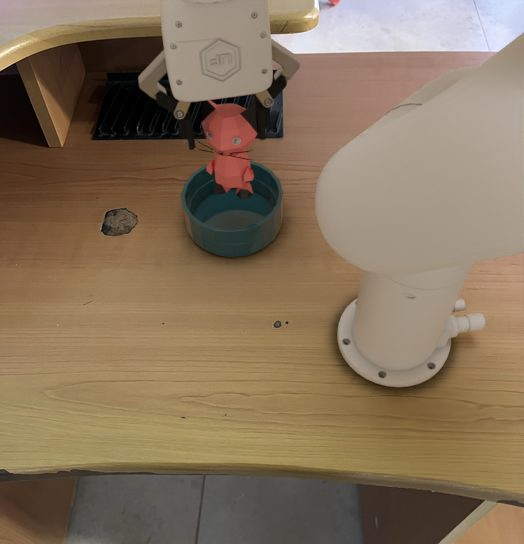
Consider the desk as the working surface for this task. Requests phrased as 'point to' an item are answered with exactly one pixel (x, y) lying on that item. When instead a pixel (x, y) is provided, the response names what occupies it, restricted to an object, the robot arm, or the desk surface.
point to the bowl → (233, 213)
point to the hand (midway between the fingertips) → (225, 135)
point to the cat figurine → (229, 145)
